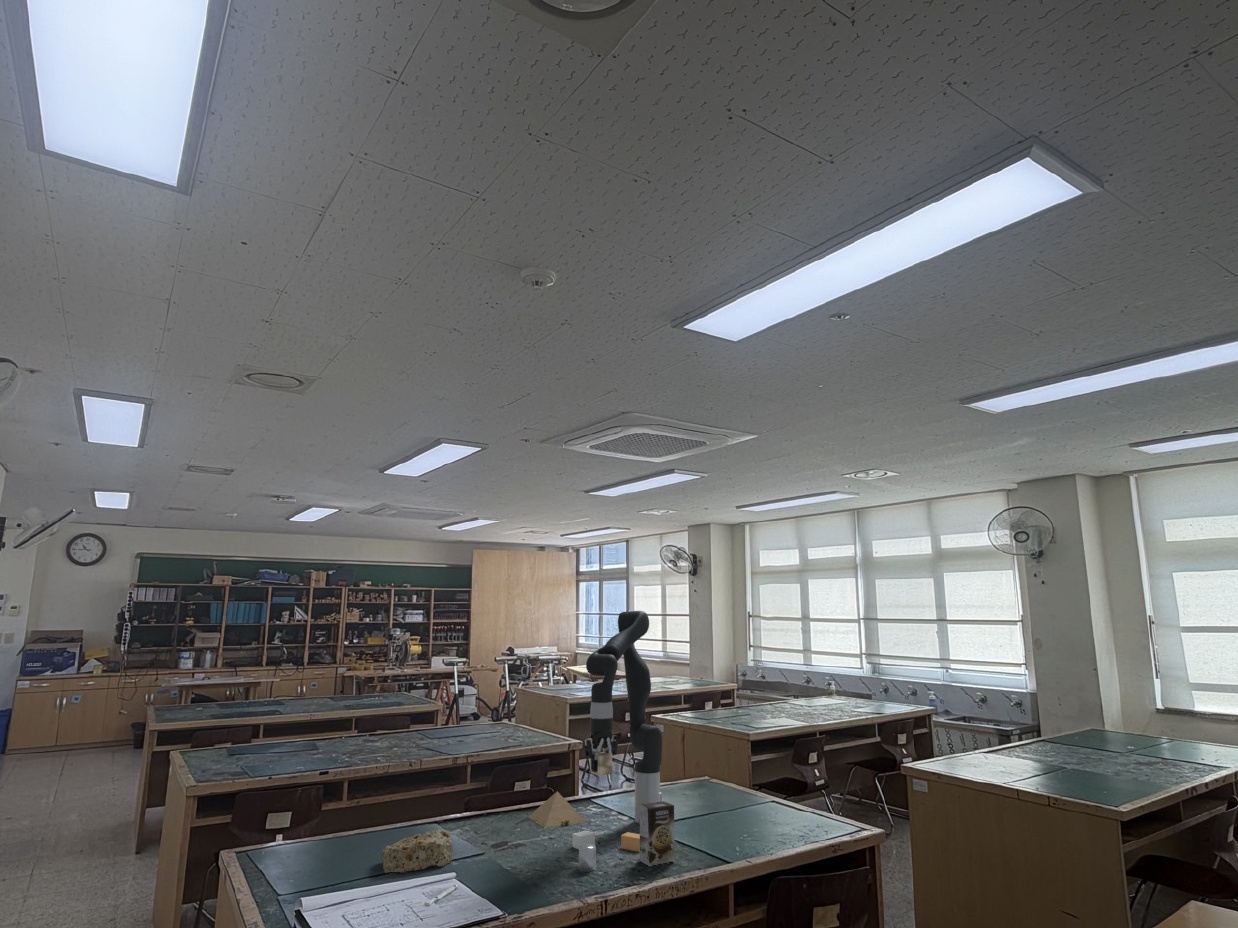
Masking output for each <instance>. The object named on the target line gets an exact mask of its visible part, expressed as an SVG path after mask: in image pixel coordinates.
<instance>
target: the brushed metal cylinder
mask: <svg viewBox="0 0 1238 928" xmlns="http://www.w3.org/2000/svg"><path fill="white" fill-rule="evenodd" d="M596 860H597V846H596V844H595V845H593V844H583V845H580V846H579V849H578V870H579V871H580V872H584V873H591V872H593V871H595V870H596V869H597V868H596V867H597V866H596V864H597V861H596Z"/></svg>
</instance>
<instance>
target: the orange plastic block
mask: <svg viewBox="0 0 1238 928" xmlns="http://www.w3.org/2000/svg"><path fill="white" fill-rule="evenodd" d="M620 846H621V847H620V848H621V849H622V850H628V851H633V852H638V853H640V833H635V832H629V831H627V832H625V833H623V834H621V835H620Z"/></svg>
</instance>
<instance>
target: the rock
mask: <svg viewBox="0 0 1238 928" xmlns="http://www.w3.org/2000/svg"><path fill="white" fill-rule="evenodd" d="M453 848H454V846H453V838H452V835H451V832H450V831H449V830H442V829H439V828H437V829H432V830H431V831H428V830H426V831H425V832H424V833H422V834H420V833H418V834H413V835H412V836H410V837H406V838H402V839H400V840H399V841H398V842H395V843H393V844H392V845H386V846H385V847H384V848H383V849H382V854H381V855H382V856H381V857H382V869H384V870H383V872H384V871H385V872H397V873H398V872H400V873H405V872H404V871H409V872H410V871H417V870H418V871H419V870H425V869H426V868H428V867H431V866H434V867H435V866H436V867H442V866H443V867H445V866H446V865H445V864H447V863H449V864H451V863H452V862H453V857H454V856H453ZM450 862H451V863H450ZM444 865H445V866H444ZM447 865H448V864H447Z"/></svg>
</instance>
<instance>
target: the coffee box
mask: <svg viewBox="0 0 1238 928" xmlns="http://www.w3.org/2000/svg"><path fill="white" fill-rule="evenodd" d="M639 834H640V852H639V861H640V862H641V863H643V864H644V865H646V866H647V865H648V867H654V866H653V865H656V866H659V865H658V864H662V865H664V864H663V863H667V864H669V863H668V862H672V861H675V805H674V804H672V803H669V802H667V801H663V800H662V802H655V803H646V804H640V824H639Z"/></svg>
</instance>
